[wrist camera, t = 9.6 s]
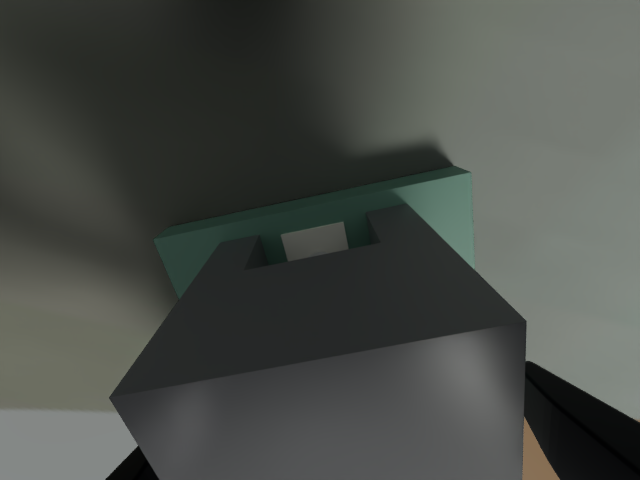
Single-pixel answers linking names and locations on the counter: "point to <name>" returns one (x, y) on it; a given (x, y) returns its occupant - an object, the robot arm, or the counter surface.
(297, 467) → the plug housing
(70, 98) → the counter surface
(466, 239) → the pin board
